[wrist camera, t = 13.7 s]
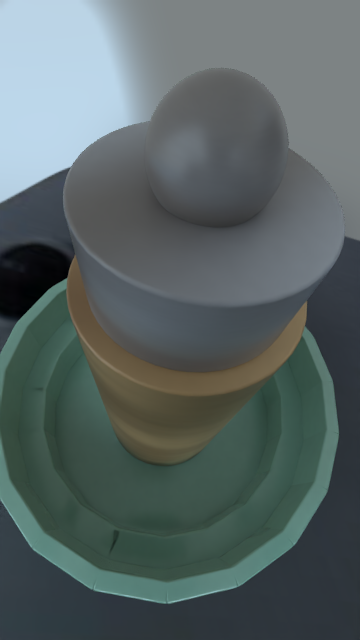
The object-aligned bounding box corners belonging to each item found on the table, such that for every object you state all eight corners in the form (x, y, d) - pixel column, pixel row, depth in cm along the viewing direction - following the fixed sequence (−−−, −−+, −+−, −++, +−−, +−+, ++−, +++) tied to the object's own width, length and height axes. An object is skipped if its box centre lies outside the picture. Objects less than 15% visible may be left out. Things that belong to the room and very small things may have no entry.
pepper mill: (238, 423, 15) (545, 135, 4) (147, 492, 13) (172, 358, 2) (177, 343, 17) (248, -8, 6) (91, 393, 15) (-79, 13, 4)
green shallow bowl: (331, 537, 13) (405, 548, 10) (11, 608, 11) (-57, 658, 7) (250, 296, 20) (275, 245, 16) (38, 311, 18) (9, 258, 14)
